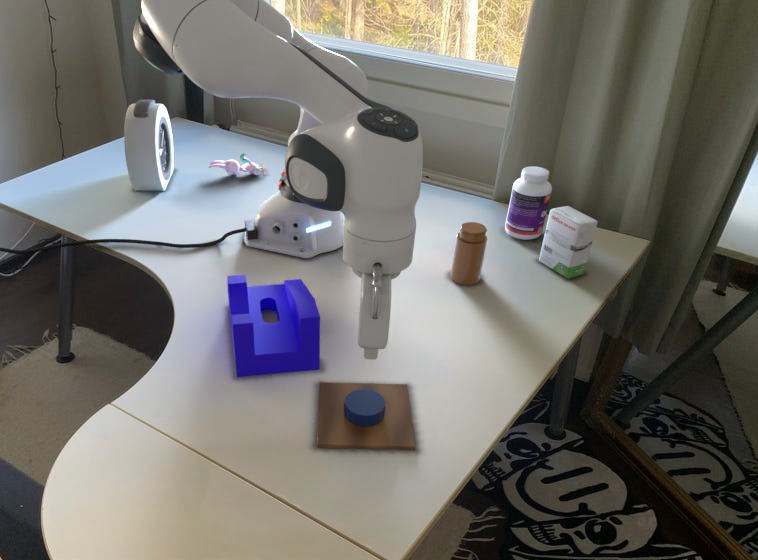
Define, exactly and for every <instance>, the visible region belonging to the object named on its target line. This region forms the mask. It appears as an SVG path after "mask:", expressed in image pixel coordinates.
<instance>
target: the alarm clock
mask: <svg viewBox="0 0 758 560" xmlns="http://www.w3.org/2000/svg"><path fill="white" fill-rule="evenodd" d="M169 115H170V114H169V113H168V109H167V107H166V106H165V104H163V103H156V100H155V99H138V100H137V102H135V103H131V104H130V105H128V107H127V110H126V114H125V118H124V128H123V143H124V154H125V155H124V157H125V163H126V168H127V169H126V170H127V174H128V178H129V180H130V183H131V186H132V187H133V189H134V191H136V192H137V191H139V192H141V191H143V192H144V191H146V192H147V191H149V192H150V191H151V192H154V191H155V192H156V191H157V192H158V191H159V192H161V191H162V192H164V191H166V189H167V188H168V187H167V186H168V184H169V182H170V180H171V178H172V176H173V173H174V167H175V166H174V165H175V161H174V160H175V155H174V152H175V151H174V138H173V131H172V125H171V120H170V116H169Z"/></svg>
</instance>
